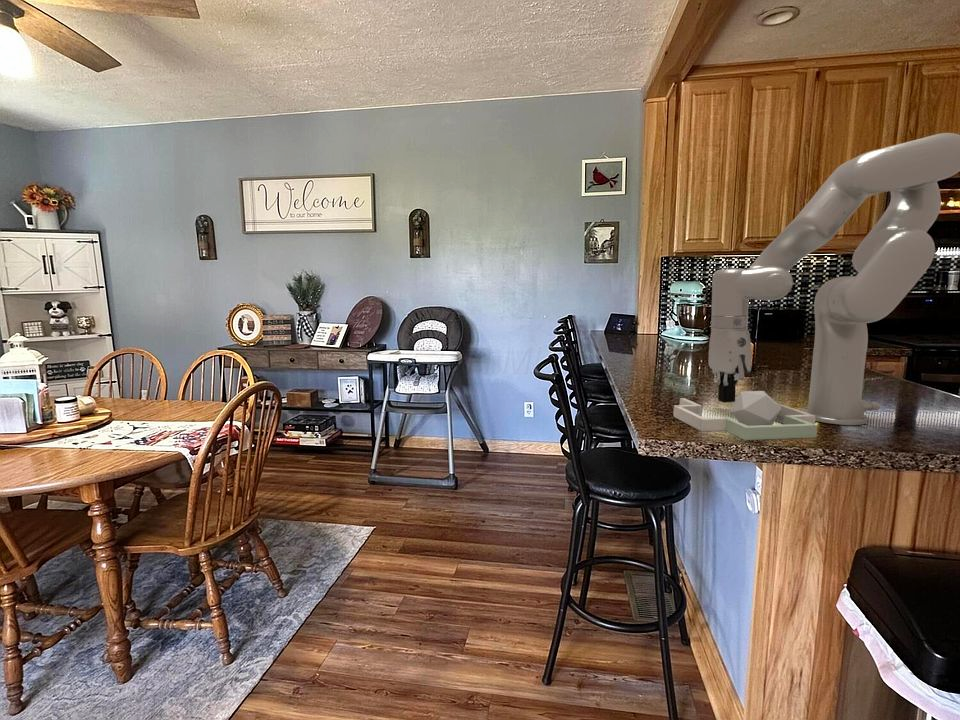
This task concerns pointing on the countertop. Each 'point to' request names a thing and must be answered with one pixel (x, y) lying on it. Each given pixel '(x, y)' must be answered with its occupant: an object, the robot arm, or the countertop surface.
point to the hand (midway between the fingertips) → (726, 401)
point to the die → (755, 408)
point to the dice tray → (792, 420)
